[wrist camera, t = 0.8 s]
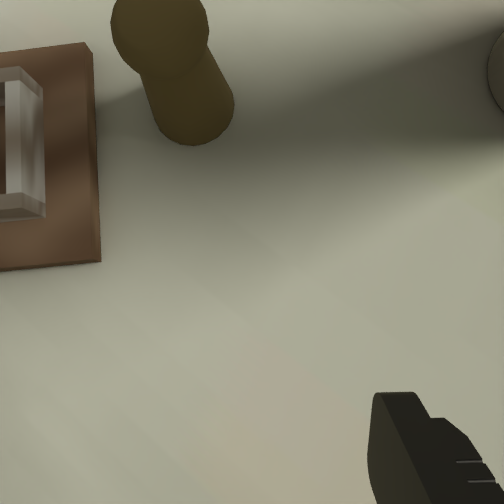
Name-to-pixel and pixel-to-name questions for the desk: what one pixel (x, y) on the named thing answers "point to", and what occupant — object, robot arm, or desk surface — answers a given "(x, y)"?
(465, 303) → the desk surface
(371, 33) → the desk surface
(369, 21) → the desk surface
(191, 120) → the cork
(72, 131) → the mount board
